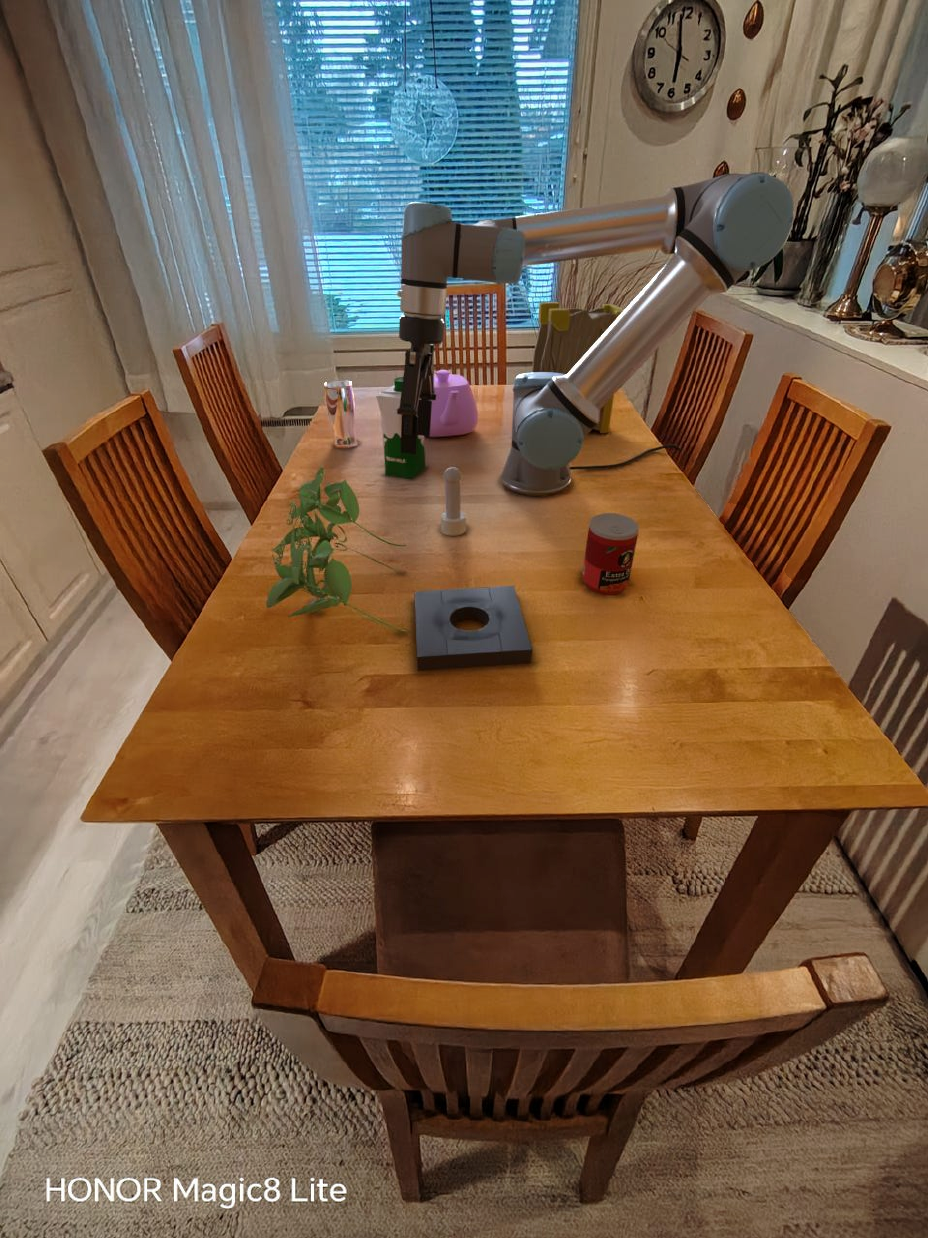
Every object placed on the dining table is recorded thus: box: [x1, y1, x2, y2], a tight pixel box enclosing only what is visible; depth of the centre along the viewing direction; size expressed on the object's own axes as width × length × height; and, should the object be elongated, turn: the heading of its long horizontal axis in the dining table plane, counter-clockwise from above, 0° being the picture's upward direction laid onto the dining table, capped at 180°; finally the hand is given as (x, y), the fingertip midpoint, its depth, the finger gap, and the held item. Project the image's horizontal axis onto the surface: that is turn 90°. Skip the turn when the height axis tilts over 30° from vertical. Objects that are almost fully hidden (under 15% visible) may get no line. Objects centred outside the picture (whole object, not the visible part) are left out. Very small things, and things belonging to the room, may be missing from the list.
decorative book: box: [531, 301, 625, 434], centre depth 149 cm, size 20×11×30 cm, turn 98°
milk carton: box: [375, 376, 426, 480], centre depth 131 cm, size 9×9×20 cm
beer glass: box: [323, 379, 359, 449], centre depth 146 cm, size 7×7×15 cm
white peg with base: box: [440, 466, 467, 537], centre depth 110 cm, size 5×5×13 cm
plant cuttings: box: [265, 466, 410, 634], centre depth 90 cm, size 35×17×22 cm
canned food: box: [581, 512, 640, 595], centre depth 96 cm, size 8×8×11 cm
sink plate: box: [413, 585, 533, 671], centre depth 88 cm, size 16×16×2 cm
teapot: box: [428, 369, 479, 438], centre depth 151 cm, size 23×21×15 cm
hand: (416, 443), depth 109 cm, fingers open, 13 cm apart
